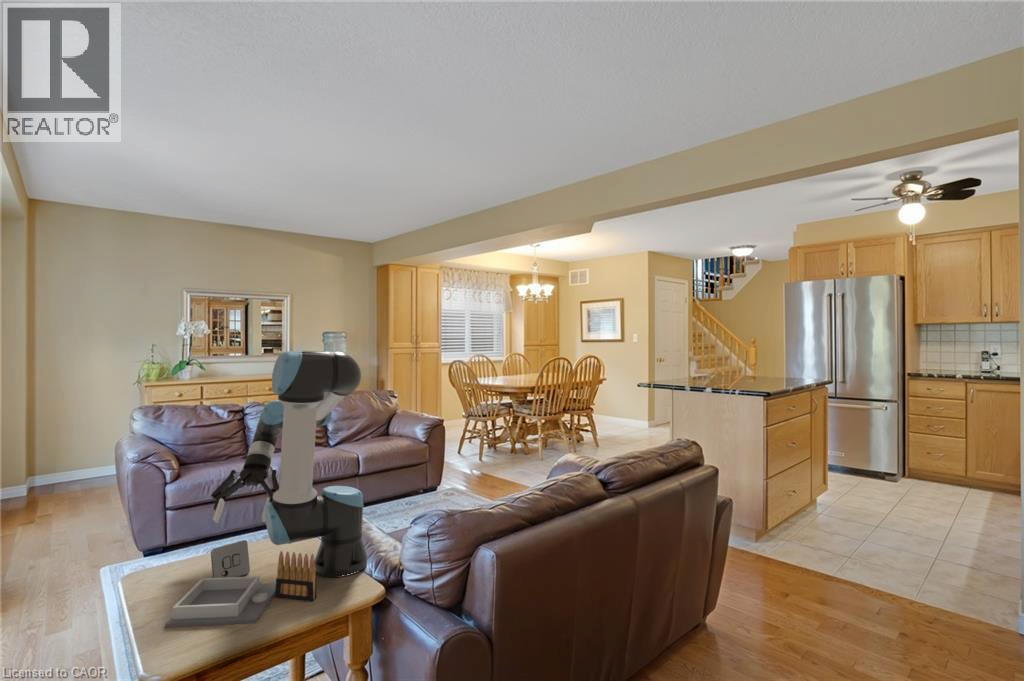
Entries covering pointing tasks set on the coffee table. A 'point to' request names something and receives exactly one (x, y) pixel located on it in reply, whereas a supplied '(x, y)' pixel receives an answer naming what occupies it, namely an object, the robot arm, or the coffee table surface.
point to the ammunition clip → (296, 578)
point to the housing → (222, 602)
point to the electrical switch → (230, 560)
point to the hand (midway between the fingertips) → (239, 520)
